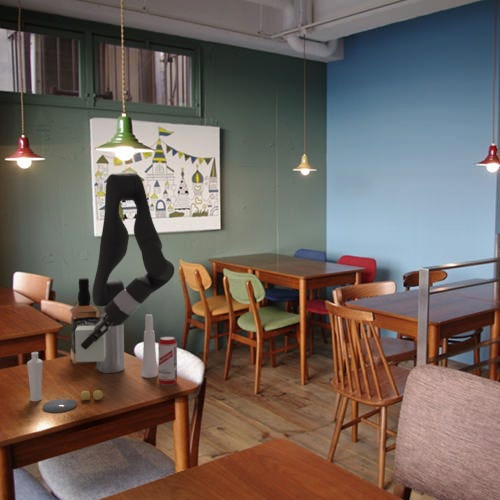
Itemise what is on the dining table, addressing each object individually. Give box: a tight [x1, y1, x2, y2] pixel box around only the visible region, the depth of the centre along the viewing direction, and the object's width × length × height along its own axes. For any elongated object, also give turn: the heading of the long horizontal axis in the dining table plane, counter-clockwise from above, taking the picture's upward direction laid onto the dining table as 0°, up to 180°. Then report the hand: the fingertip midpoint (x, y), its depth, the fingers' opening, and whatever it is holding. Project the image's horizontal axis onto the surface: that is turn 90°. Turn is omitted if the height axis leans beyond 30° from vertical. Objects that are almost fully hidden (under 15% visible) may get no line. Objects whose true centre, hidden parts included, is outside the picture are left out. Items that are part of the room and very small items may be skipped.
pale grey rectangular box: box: [75, 326, 106, 363], centre depth 177 cm, size 8×5×10 cm, turn 98°
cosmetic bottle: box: [140, 313, 159, 379], centre depth 202 cm, size 6×6×22 cm
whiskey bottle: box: [69, 277, 100, 365], centre depth 219 cm, size 10×10×32 cm
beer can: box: [157, 335, 178, 387], centre depth 194 cm, size 6×6×16 cm
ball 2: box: [92, 389, 104, 401], centre depth 179 cm, size 3×3×3 cm
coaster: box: [42, 398, 78, 414], centre depth 173 cm, size 10×10×1 cm
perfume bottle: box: [26, 351, 44, 402], centre depth 178 cm, size 5×4×15 cm
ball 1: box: [80, 390, 91, 401], centre depth 178 cm, size 3×3×3 cm
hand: (84, 344), depth 177 cm, fingers closed on pale grey rectangular box, 5 cm apart
